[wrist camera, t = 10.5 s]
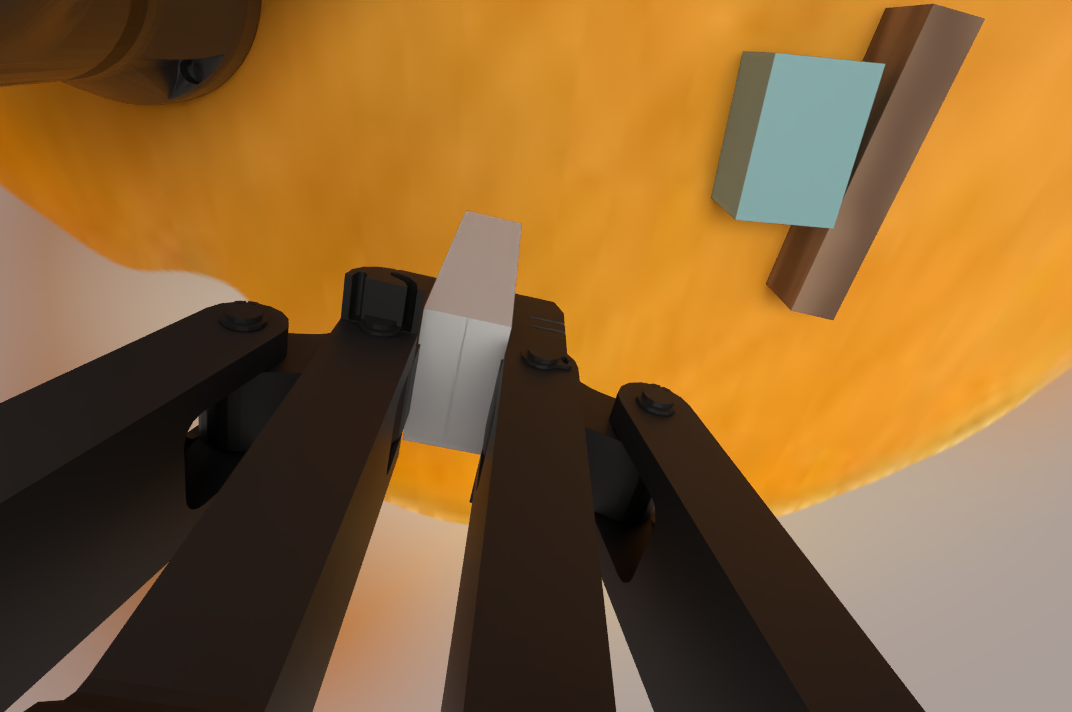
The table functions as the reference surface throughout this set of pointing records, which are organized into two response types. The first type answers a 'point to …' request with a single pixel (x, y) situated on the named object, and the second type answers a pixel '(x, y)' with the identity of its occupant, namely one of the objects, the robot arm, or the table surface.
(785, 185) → the block
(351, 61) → the table surface
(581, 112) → the table surface
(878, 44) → the board
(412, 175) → the table surface
